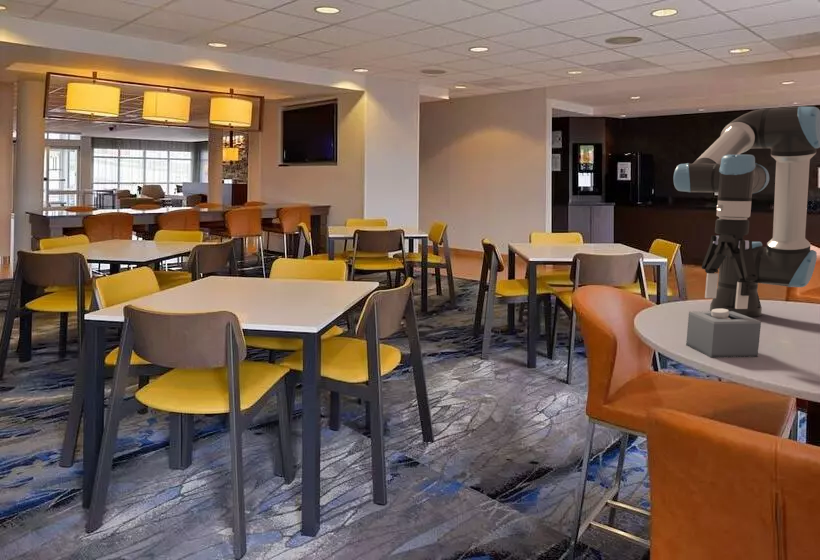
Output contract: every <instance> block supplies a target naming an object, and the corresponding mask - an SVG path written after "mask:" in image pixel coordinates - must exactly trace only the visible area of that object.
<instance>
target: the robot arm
mask: <svg viewBox="0 0 820 560" xmlns="http://www.w3.org/2000/svg"><path fill="white" fill-rule="evenodd" d="M750 149H752V150H753V149H770V156H771V158H773V159H774V160H775V179H774V183H775V184H774V200H773V201H774V202H773V203H774V204H773V205H774V206H773V224H772V227H773V228H772V238H771V239H770V240H769V241H768V242H766V246H763V243H762V241H752V240H749V239H748V240H745V239H744V236H747V235H749V234H750V233H749V231H750V220H749V219H748V218H751V210H752V197H753V195H754V194H757V193H760V192H761V191H763V190H765V188H767V186H768V184H769V182H770V174H769V171H768V169H767V168H766V167H765V166H763V165H761V164H758V163H757V162H756V157H755V155H754V154H743V153H746V152H747V151H749V150H750ZM818 149H820V109H819V108H818V107H816V106H799V105H798V106H790V107H789V106H788V107H787V106H786V107H775V108H774V107H773V108H760V109H759V108H758V109H754V110H751V111H749V112H746V113H744V114H742V115H740V116H738V117H737V118H735V119H733V120H732V121H730V122H729V123H728V124H726V125H725V127H724V128H723V129H722V131H721V132H720V136H719V137H718V138H717V139H716V140H715V141H714V142H713V143H712V144H711V145H710V146H709V147H708V148H707V149H706V150H704V152H703V153H701V155H700V156H699V157H698V158H696V160H695V161H694V162H693V163H690V162H687V163H680V164H678V165H676V168H675V169H674V172H673V178H672V179H673V185H674V188H675V189H676V190H677V191H678V192H686V193H716V194H717V205H716V217H718V218H716V220H715V227H714V233H715V234H718V235H710V236H711V237H710V242H709V245H708V249H707V251H706V254H705V256H704V260H703V261H702V265H701V269H702V270H704V272H705V273H706V278H705V292H704V298H705V299H711V302H710V303H709V311H712V310H713V309H727V310H729V311H733V312H736V313H739V314H742V315H745V316H748V317H750V318H757V317H760V316H762V312H763V311H762V310H763V309H762V304H761V301H760V300H761V299H760V297H759V292H758V286H759V284H762V285H772V286H780V287H787V288H803V287H804V288H805V287H806V286H807V285H808V284H809V283H810V281H811V279H812V276H813V273H814V271H815V267H816V263H817V259H818V258H817V257H818V255H817V250H814V249H811V247H812V246H811V242H809V240H808V239H807V238H806V229H807V214H808V213H807V212H808V211H807V210H808V197H809V195H808V194H809V193H808V191H809V180H810V179H809V178H810V162H811V159H812V158H813V157H814V156H815V155H816V154H817V150H818Z"/></svg>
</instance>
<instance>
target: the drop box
mask: <svg viewBox="0 0 820 560" xmlns="http://www.w3.org/2000/svg"><path fill="white" fill-rule="evenodd" d="M728 318H730V319H716V318H714V317H712V316H711V311H710V310H708V311H707V310H706V311H704V310H702V311H699V310H698V311H694V310H693V311H688V319H687V331H686V341H685V343H686V344H685V345H686V346H688V347H689V348H691V349H693V350H695V351H696V352H698V353H701V354H703V355H704V356H707V357H709V358H711V359H712V358H713V359H714V358H716V359H719V358H720V359H721V358H722V359H723V358H724V357H728V358H758V357H759V356H758V354H759V348H760V347H759V346H760V335H761V327H762V326H761V325H762V320H758V319H756V318H754V317H748V316H745V315H742V314H739V313H736V312H733V311H729V316H728Z"/></svg>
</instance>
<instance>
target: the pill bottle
mask: <svg viewBox="0 0 820 560" xmlns="http://www.w3.org/2000/svg"><path fill="white" fill-rule="evenodd" d="M711 316H712V317H714V318H716V319H730V318H728V316H729V310H727V309H713V310H712V311H711Z"/></svg>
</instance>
